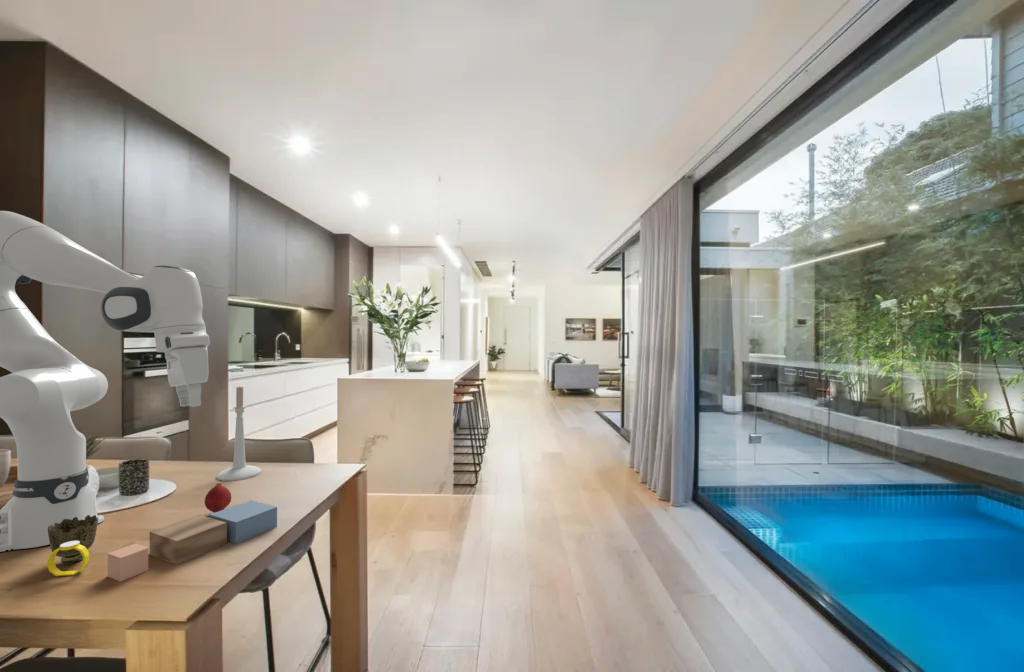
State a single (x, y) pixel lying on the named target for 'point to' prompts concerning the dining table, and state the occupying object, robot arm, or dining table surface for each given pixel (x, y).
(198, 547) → the walnut block
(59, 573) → the watch
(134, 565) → the terracotta cube
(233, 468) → the candlestick
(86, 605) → the dining table surface
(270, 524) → the slate-blue block
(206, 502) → the onion
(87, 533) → the cup
